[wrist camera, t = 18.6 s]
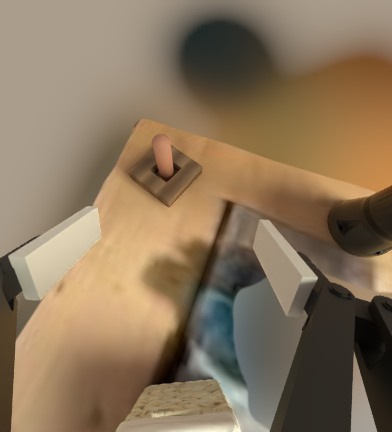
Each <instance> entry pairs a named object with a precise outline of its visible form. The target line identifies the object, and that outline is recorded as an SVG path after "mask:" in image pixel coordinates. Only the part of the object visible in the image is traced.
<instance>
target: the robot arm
mask: <svg viewBox="0 0 392 432" xmlns="http://www.w3.org/2000/svg"><path fill="white" fill-rule="evenodd" d="M328 226H329V230H330V232H331V235H332V236H333V238H334V239H335V241H336V242H337V243H338V244H339V245H340V246H341V247H342V248H343V249H344V250H346V251H347V252H349V253H351V254H353V255H356V256H359V257H374V256H379V255H383V254H385V253H387V252H388V251H390V250H392V186H390V187H388V188H386V189H384V190H381V191H380V192H377V193H375V194H373V195H371V196H369V197H363V198H358V199H352V200H347V201H344V202H342V203H340V204H338V205H336V206H335V207H333V208H332V210H331V211H330V213H329V216H328ZM101 237H102V235H101V229H100V222H99V215H98V208H97V207H94V206H87V207H85V208H84V209H82V210H81V211H79V212H77V213H76V214H74V215H73V216H71V217H69V218H68V219H66V220H65V221H63V222H61V223H60V224H58V225H57V226H55V227H53V228H52V229H50V230H49V231H47V232H46V233H44V234H42V235H39V236H37V237H34V238H32V239H31V240H29V241H28V242H26V243H24V244H23V245H21V246H20V247H18V248H16V249H14V250H13V251H11V252H10V253H8V254H6V255H5V256H3V257H1V258H0V432H11V417H12V398H13V379H14V360H15V341H16V322H17V303H18V302H17V299H16V296H17V295H18V294H19V293H20V292H21V291H22V292H23V295H24V297H25V299H27V300H41V299H42V298H43V297H44V296H45V295H46V294H47V293H48V292H49V291H50V290H51V289H52V288H53V287H54V286H55V285H56V284H57V283H58V282H59V281H60V279H61V278H62V277H63V276H64V275H65V274H66V273H67V272H68V271H69V270H70V269H71V268H72V267H73V266H74V265H75V264H76V263H77V262H78V261H79V260H80V259H81V258H82V257H83V256H84V255H85V254H86V252H87V251H88V250H89V249H90V248H91V247H92V246H93V245H94V244H95V243H96V242H97V241H98V240H99V239H100V238H101ZM253 250H254V252H255V254H256V256H257V258H258V260H259V262H260V264H261V266H262V268H263V270H264V272H265V274H266V276H267V278H268V280H269V282H270V284H271V286H272V288H273V290H274V292H275V294H276V296H277V298H278V300H279V302H280V304H281V306H282V308H283V310H284V312H285V314H286V316H288V317H301V315H302V313H303V310H305V311H306V313H307V315H308V318H307V320H306V322H305V324H304V326H303V328H302V331H303V332H302V335H301V338H300V341H299V344H298V347H297V350H296V353H295V356H294V359H293V362H292V365H291V368H290V371H289V374H288V378H287V381H286V384H285V387H284V390H283V393H282V396H281V399H280V402H279V405H278V408H277V411H276V414H275V417H274V420H273V423H272V426H271V429H270V432H350V431H351V407H352V406H351V405H352V381H353V356H354V355H353V354H354V352H355V355H356V359H357V362H358V366H359V369H360V373H361V376H362V380H363V383H364V387H365V390H366V394H367V397H368V401H369V404H370V408H371V411H372V414H373V418H374V422H375V425H376V428H377V432H392V299H390V298H388V297H384V296H375V297H374V298H373V299H372V301H371V302H368V301H365V300H361V299H358V298H355V296H354V295H353V294H352V293H351V292H350V291H349V290H347V289H346V288H344V287H343V286H341V285H338V284H336V283H331V282H329V281H328V279H327V278H326V277H325V276H324V275H323V274H322V273H321V272H320V270H319V269H318V268H316V266H315V265H314V264H313V263H312V262H311V261H310V259H309V258H308V257H307V256H305V255H304V254H302V253H301V252H296V251H295V250H294V249H293V248H292V247H291V245H290V244H289V243H288V242H287V241H286V240H285V238H284V237H283V236H282V235H281V234H280V233H279V231H278V230H277V229H276V228H275V227H274V226H273V224H272V223H271V222H270V221H269V220H262V219H260V220H259V224H258V228H257V232H256V236H255V240H254V244H253Z"/></svg>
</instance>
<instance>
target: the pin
mask: <svg viewBox="0 0 392 432" xmlns="http://www.w3.org/2000/svg"><path fill="white" fill-rule="evenodd" d="M152 145H153V150H154V154H155V158H156V162H157V166H158V170H159V175H160V178H161V179H162V180H164V181H165V182H168V181H169V180H170V179H171V178H172V177H173V176H174V169H173V160H172V151H171V141H170V138H169V137H168V136H166V135H163V134H159V135H156V136H155V137H154V138H153V139H152Z"/></svg>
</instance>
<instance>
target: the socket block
mask: <svg viewBox="0 0 392 432" xmlns="http://www.w3.org/2000/svg"><path fill="white" fill-rule="evenodd" d="M171 151H172V160H173V168H174V169H175V170H176V171H178V172H177V173H176V174H175V175H174V176H173V177H172V178H171V179H170V180H169V181H168V182H167V183H166V182H165V181H164V180H162V179H161V178H160V177H158V176H157V175H156V174H155V173H156V172H157V171H158V166H157V162H156V158H155V154H154V150H152V151H151V152H150V153H149V154H147V155H146V156H145V157H144V158H143V159H142V160H140V161H139V162H138V163H137V164H136V165H135V166H134V167H132V168H131V169H130V170H129V171H128V173H129V175H130V177H131V178H132V179H133V180H135V181H136V182H137V183H138V184H140V185H141V186H142V187H144V188H145V189H146V190H147V191H149V192H150V193H151V194H153V195H154V196H155V197H156V198H158V199H159V200H160V201H162V202H163V203H164V204H165V205H167V206H168V207H170V206H171V205H172V204H173V203H174V201H175V200H176V199H177V198H178V197H179V196H180V195H181V194H182V193H183V192H184V191H185V190H186V189H187V188H188V187H189V186H190V185H191V184H192V183H193V182H194V181H195V180H196V178H197V177H198V176H199V175H200V174H201V173H202V166H201V165H199V164H198V163H196V162H195V161H193V160H192V159H191V158H189V157H188V156H186V155H185V154H183V153H182V152H180V151H179V150H178V149H176V148H175V147H173V146H172V145H171Z"/></svg>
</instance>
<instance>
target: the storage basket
mask: <svg viewBox="0 0 392 432" xmlns="http://www.w3.org/2000/svg"><path fill="white" fill-rule="evenodd" d="M116 432H241V431H240V426H239V423H238V420H237V417H236V416H235V415H234V412H233V410H232V408H231V407H230V405H229V404H228V403H227V399H226V397H225V395H224V394H223V391H222V390H221V387H220V383H218V381H217V380H213V379H208V380H197V381H186V382H184V383H182V382H174V383H170V384H160V385H150V386H148V387H146V388H145V389H144V391H143V392H142V394H141V395H140V397H139V398H138V400H137V402H136V404H135V405H134V407H133V409H132V410H131V413H130V414H129V415H128V416H127V417H126V419H125V421H123V422H122V423H120V424H119V426H118V428H117V430H116Z"/></svg>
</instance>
